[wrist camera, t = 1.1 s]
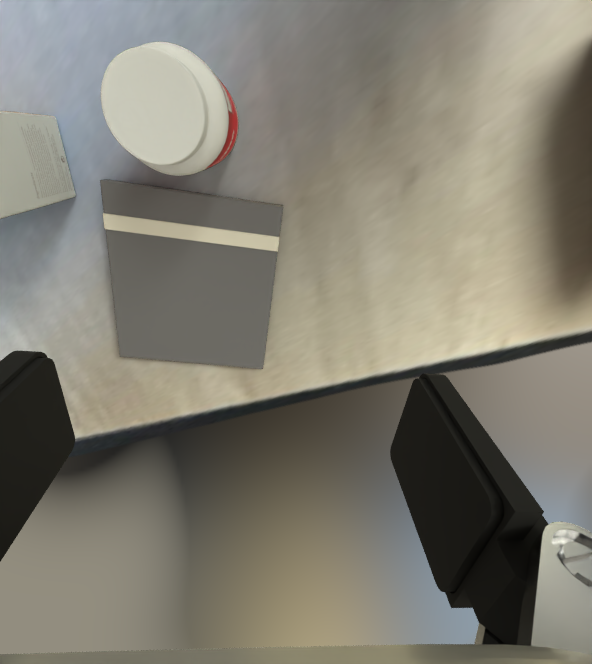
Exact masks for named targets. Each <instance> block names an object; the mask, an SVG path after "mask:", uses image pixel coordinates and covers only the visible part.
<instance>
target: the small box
mask: <svg viewBox="0 0 592 664" xmlns="http://www.w3.org/2000/svg"><path fill="white" fill-rule="evenodd" d="M75 196H76V194H75V190H74V186H73V182H72V178H71V175H70V171H69V167H68V163H67V159H66V155H65V152H64V148H63V144H62V140H61V136H60V132H59V128H58V124H57V120H56V117H54V116H48V115H38V114H28V113H18V112H8V111H0V219H2V218H5V217H9V216H12V215H16V214H19V213H23V212H27V211H30V210H33V209H37V208H40V207H44V206H47V205H50V204H54V203H57V202H60V201H63V200H67V199H70V198H73V197H75Z"/></svg>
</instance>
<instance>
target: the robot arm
mask: <svg viewBox="0 0 592 664" xmlns="http://www.w3.org/2000/svg"><path fill="white" fill-rule="evenodd" d="M74 443H75V435H74V432H73V428H72V425H71V421H70V417H69V414H68V410H67V407H66V403H65V400H64V396H63V392H62V389H61V385H60V382H59V378H58V375H57V371H56V367H55V364H54V362H53V360H52V359H50V358H47V356H46V355H45V354H44V353H42V352H32V351H13V352H12V353H10V354H9V355H8V356H6V357H5V358H4V359H3V360H1V361H0V561H1V559H2V558H3V557H4V555H5V554H6V552H7V550H8V549H9V547H10V545H11V544H12V543H13V541H14V539H15V538H16V536H17V535H18V533H19V532H20V530H21V529H22V527H23V526H24V524H25V522H26V521H27V520H28V518H29V516H30V515H31V513H32V512H33V510H34V509H35V507H36V505H37V504H38V503H39V501H40V499H41V498H42V496H43V495H44V493H45V491H46V490H47V489H48V487H49V485H50V484H51V482H52V481H53V479H54V478H55V476H56V475H57V473H58V472H59V470H60V468H61V467H62V465H63V464H64V462H65V461H66V459H67V458H68V456H69V455H70V453H71V451H72V449H73V447H74ZM390 453H391V460H392V463H393V466H394V469H395V472H396V474H397V477H398V480H399V483H400V485H401V488H402V491H403V494H404V496H405V499H406V502H407V505H408V507H409V510H410V513H411V516H412V518H413V521H414V524H415V527H416V530H417V532H418V535H419V538H420V541H421V543H422V546H423V549H424V552H425V554H426V557H427V560H428V563H429V565H430V568H431V571H432V574H433V576H434V579H435V582H436V584H437V586H438V588H439V589H440V590H441V591H442V592H445V593H446V595H447V598H448V601H449V603H450V606H451V608H473V609H474V612H475V614H476V616H477V619H478V621H479V626H478V631H477V635H476V640H475V644H474V645H473V644H468V645H467V644H466V645H465V644H464V645H461V644H460V645H459V644H457V645H456V644H455V645H454V644H441V645H440V644H416V645H363V646H313V647H312V646H311V647H265V648H222V649H183V650H182V649H180V650H141V651H102V652H68V653H34V654H2V655H1V654H0V664H592V533H591V532H589V531H588V530H586V529H583V528H581V527H579V526H576V525H574V524H570V523H565V522H552V523H551V524H548V523H547V522H546V520H545V519H544V517H543V516H542V514H543V512H544V511H543V510H542V508H541V507H540V506H539V504H538V503H537V502H536V500H535V499H534V497H533V496H532V495H531V493H530V492H529V490H528V489H527V488H526V486H525V485H524V484H523V482H522V481H521V479H520V478H519V477H518V475H517V474H516V472H515V471H514V470H513V468H512V467H511V466H510V464H509V463H508V461H507V460H506V459H505V458H504V456H503V455H502V453H501V452H500V450H499V449H498V447H497V446H496V445H495V443H494V442H493V440H492V439H491V438H490V436H489V435H488V433H487V432H486V431H485V429H484V428H483V427H482V425H481V424H480V423H479V421H478V420H477V418H476V417H475V416H474V414H473V413H472V412H471V410H470V408H469V407H468V406H467V404H466V403H465V402H464V400H463V399H462V398H461V396H460V395H459V393H458V392H457V391H456V389H455V388H454V386H453V385H452V384H451V382H450V381H449V379H448V378H447V377H446V376H445V375H439V374H422V375H421V376H420V377H419V379H415V380H414V381H413V383H412V386H411V389H410V392H409V395H408V398H407V401H406V404H405V407H404V410H403V413H402V416H401V419H400V422H399V425H398V428H397V431H396V434H395V437H394V440H393V443H392V446H391V451H390Z"/></svg>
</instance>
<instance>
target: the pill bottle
mask: <svg viewBox="0 0 592 664" xmlns="http://www.w3.org/2000/svg"><path fill="white" fill-rule="evenodd" d="M101 104H102V110H103V114H104V117H105V120H106V122H107V125H108V127H109V129H110V131H111V132H112V134H113V135H114V137H115V138H116V140H117V141H118V142H119V143H120V144H121V145H122V147H124V148H125V149H126V150H127V151H128V152H129V153H130V154H132V155H133V156H135V157H136V158H138V159H139V160H140V161H141V162H143V163H144V164H146V165H147V166H149V167H150V168H152V169H154V170H156V171H159V172H161V173H164V174H168V175H174V176H184V175H191V174H195V173H197V172H200V171H203V170H205V169H207V168H209V167H212V166H214V165H216V164H218V163H219V162H221V161H222V160H224V159H225V158H226V157H227V156H228V155H229V153H230V152H231V151H232V149H233V147H234V145H235V142H236V140H237V136H238V127H239V122H238V114H237V110H236V106H235V104H234V101H233V99H232V97H231V95H230V93H229V92H228V90H227V89H226V87H225V86H224V85H223V84H222V82H221V81H220V80H219V79H218V78H217V76H216V75H215V74H214V73H213V72H212V70H211V69H210V68H209V67H208V66H207V65H206V64H205V63H204V62H203V61H202V60H201V59H200V58H199V57H198V56H196V55H195V54H194V53H192V52H191V51H189V50H187V49H186V48H183V47H181V46H179V45H176V44H172V43H168V42H152V43H147V44H144V45H141V46H139V47H133V48H130V49H127V50H125V51H123V52H121V53H120V54H118V55H117V56H116V57H115V58H114V59H113V60H112V61H111V63H110V64H109V66H108V67H107V69H106V71H105V74H104V77H103V80H102V85H101Z"/></svg>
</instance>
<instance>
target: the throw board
mask: <svg viewBox="0 0 592 664" xmlns="http://www.w3.org/2000/svg"><path fill="white" fill-rule="evenodd" d="M100 183H101V192H102V201H103V210H104V213H103V220H104V228H105V229H106V236H107V245H108V254H109V263H110V272H111V281H112V290H113V299H114V308H115V317H116V326H117V335H118V344H119V353H120V357H131V358H142V359H154V360H165V361H176V362H187V363H199V364H210V365H221V366H233V367H244V368H255V369H263V365H264V357H265V349H266V341H267V333H268V325H269V317H270V309H271V301H272V293H273V285H274V277H275V269H276V261H277V253H278V246H279V238H280V229H281V221H282V213H283V205H277V204H271V203H264V202H257V201H250V200H243V199H237V198H230V197H223V196H216V195H210V194H203V193H196V192H189V191H182V190H176V189H169V188H162V187H155V186H148V185H142V184H135V183H128V182H121V181H114V180H108V179H105V180H100Z"/></svg>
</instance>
